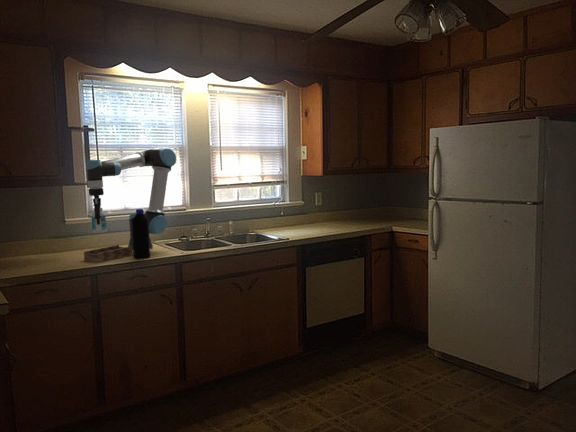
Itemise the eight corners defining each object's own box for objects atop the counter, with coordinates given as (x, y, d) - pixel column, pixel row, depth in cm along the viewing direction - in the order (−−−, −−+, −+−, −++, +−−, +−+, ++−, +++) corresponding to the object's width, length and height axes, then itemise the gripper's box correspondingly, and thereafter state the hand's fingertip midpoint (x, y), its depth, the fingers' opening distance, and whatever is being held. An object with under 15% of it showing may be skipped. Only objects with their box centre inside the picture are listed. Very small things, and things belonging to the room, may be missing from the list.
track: (117, 253, 300) (117, 244, 300) (133, 254, 294) (132, 246, 293) (84, 260, 279) (83, 251, 279) (100, 262, 273) (99, 253, 272)
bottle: (131, 257, 285) (129, 209, 282) (146, 255, 291) (143, 208, 288) (137, 259, 278) (135, 210, 275) (152, 257, 284) (150, 209, 281)
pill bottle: (93, 233, 269) (90, 209, 267) (92, 232, 276) (90, 208, 274) (107, 232, 272) (105, 208, 270) (106, 230, 279) (104, 206, 277)
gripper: (89, 187, 279) (93, 227, 282) (87, 189, 260) (90, 232, 263) (104, 186, 281) (107, 226, 285) (102, 189, 262) (105, 231, 265)
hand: (99, 229), depth 274 cm, fingers closed on pill bottle, 7 cm apart
